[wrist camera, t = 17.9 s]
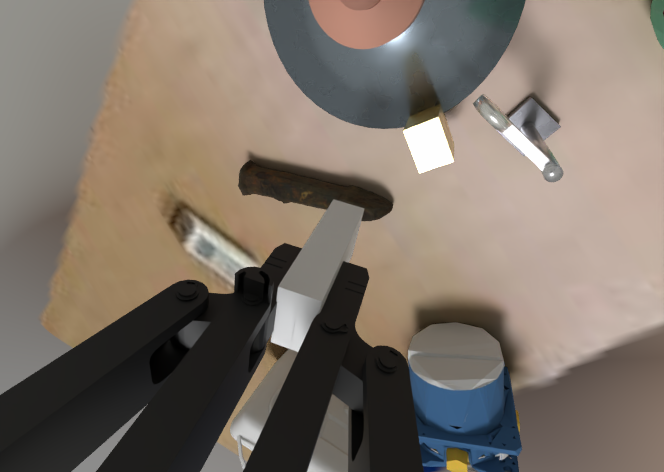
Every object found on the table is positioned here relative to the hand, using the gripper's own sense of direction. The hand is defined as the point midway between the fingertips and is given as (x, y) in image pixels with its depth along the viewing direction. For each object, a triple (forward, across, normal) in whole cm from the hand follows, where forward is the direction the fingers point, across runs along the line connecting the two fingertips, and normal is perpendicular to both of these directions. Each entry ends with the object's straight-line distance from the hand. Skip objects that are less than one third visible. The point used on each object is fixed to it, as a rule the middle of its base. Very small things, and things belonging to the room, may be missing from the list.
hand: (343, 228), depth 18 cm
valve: (+27, +17, -32) cm, 45 cm away
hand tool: (+27, -8, -12) cm, 30 cm away
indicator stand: (+26, +10, +2) cm, 28 cm away
